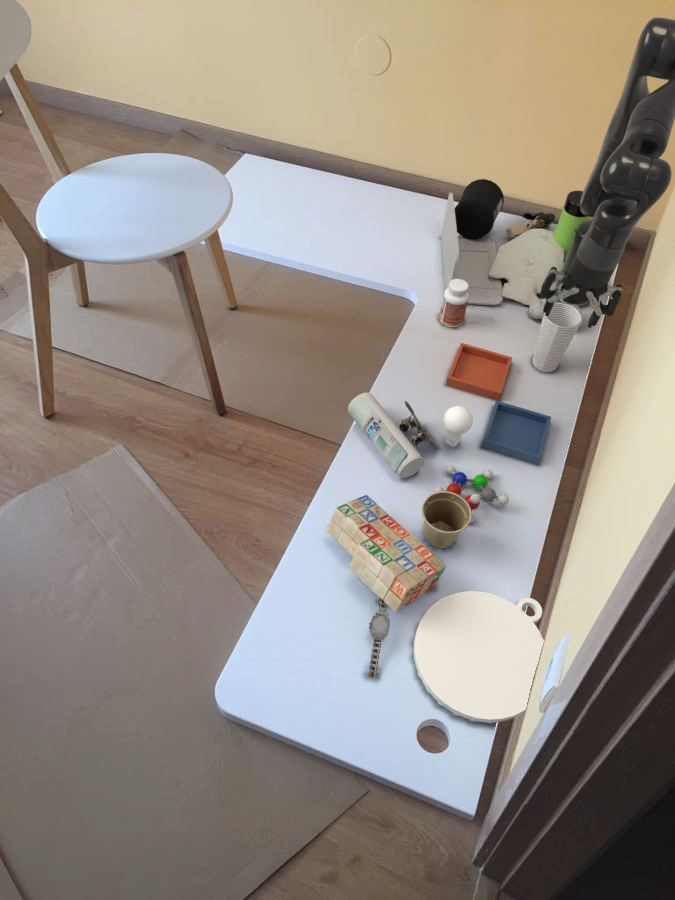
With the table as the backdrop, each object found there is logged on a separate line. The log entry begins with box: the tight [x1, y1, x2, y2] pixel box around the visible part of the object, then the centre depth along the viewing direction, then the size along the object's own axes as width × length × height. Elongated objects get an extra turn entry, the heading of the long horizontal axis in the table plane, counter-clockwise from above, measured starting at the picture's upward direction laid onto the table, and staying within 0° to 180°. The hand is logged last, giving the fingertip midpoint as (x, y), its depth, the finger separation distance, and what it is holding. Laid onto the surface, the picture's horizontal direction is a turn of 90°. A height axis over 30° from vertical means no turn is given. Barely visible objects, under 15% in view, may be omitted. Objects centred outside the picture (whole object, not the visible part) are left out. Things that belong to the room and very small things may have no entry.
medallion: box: [413, 590, 545, 725], centre depth 131 cm, size 24×27×2 cm
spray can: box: [347, 392, 425, 479], centre depth 157 cm, size 6×6×20 cm
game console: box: [440, 192, 504, 306], centre depth 192 cm, size 28×15×15 cm, turn 178°
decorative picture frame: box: [398, 400, 439, 450], centre depth 158 cm, size 12×6×11 cm
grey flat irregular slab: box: [489, 228, 565, 307], centre depth 197 cm, size 18×5×30 cm
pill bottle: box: [438, 279, 469, 328], centre depth 181 cm, size 6×6×11 cm
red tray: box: [445, 342, 513, 401], centre depth 173 cm, size 13×13×2 cm
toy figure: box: [505, 211, 556, 239], centre depth 208 cm, size 7×6×15 cm
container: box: [454, 178, 505, 239], centre depth 206 cm, size 12×12×18 cm
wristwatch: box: [368, 597, 391, 678], centre depth 132 cm, size 4×14×5 cm, turn 170°
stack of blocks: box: [325, 494, 447, 613], centre depth 137 cm, size 21×6×12 cm
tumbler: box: [554, 190, 591, 262], centre depth 198 cm, size 8×8×17 cm
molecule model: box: [433, 464, 510, 524], centre depth 151 cm, size 15×7×14 cm
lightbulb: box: [442, 405, 474, 447], centre depth 157 cm, size 6×6×11 cm
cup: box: [532, 301, 583, 373], centre depth 172 cm, size 8×8×16 cm
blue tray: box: [480, 400, 552, 466], centre depth 162 cm, size 13×13×2 cm
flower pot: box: [421, 491, 473, 549], centre depth 143 cm, size 9×9×9 cm
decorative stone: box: [528, 298, 584, 329], centre depth 185 cm, size 13×7×5 cm, turn 79°
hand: (568, 319), depth 147 cm, fingers open, 8 cm apart
